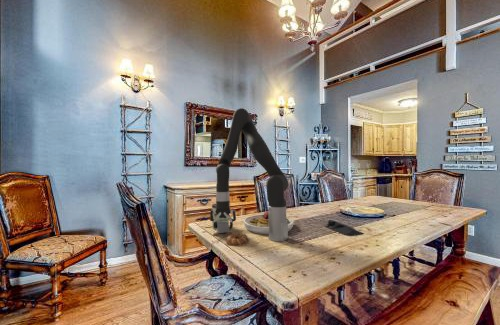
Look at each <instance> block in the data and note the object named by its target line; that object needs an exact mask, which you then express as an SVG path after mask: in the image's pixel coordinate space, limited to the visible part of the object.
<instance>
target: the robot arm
mask: <svg viewBox="0 0 500 325" xmlns="http://www.w3.org/2000/svg"><path fill="white" fill-rule="evenodd" d="M230 125H231V126H230V130H229V132H228V137H227V140H226V142H225V145H224V148H223V150H222V152H221V153H222V154H221V157H220V158H219V161H218V163H217V166H216V167H215V172H216V186H215V187H216V195H215V204H216V210H212V209H211V210H210V212H209V214H210V216H209V217H210V218H209V221H210V222H212V221H213V222H214V228H215V229H216V228H217V221H216V220H217V219H218V217H219V218H227V219H228V220H229V230H232V229H233V226H234V222H236V220H237V215H236V214H237V213H236V209H230V208H231V205H230V204H231V202H230V200H231V198H230V195H231V194H230V183H229V182H230V166H231V164H232V162H233V160H234V159H235V155H236V153H237V151H238V147H239V141H240V135H241V132H242V133H243V135H244V137H245V138H246V141H247V145H248V147H249V150H250V152H251V154H252V155H253V158H254V159H255V161H256V162H257V163H258V164H259V165H260V166H261V167H262V168H263V169H264V170H265V171H266V173H267V175H268V179H267V181H266V199H267V202H268V211H269V234H268V240H270V241H272V242H282V243H283V242H285V241H286V240H288V239H289V231H288V220H286V217H287V201H286V199H285V196H284V194H285V191H286V190H287V189H288V188H289V180H288V178H287V176H286V175H285V174H284V172H283V171H282V169H281V168H280V167H279V165H278V163H277V162H276V159H275V157H274V156H273V154H272V152H271V151H270V149H269V146H268V145H267V143H266V142H265V140H264V138H263V137H262V135H261V134H260V133H259V132H258V130H257V129H256V127H255V124H254V121H253V119H252V116H251V114H250V113H249V112H248V110H247V109H245V108H242V107H241V108H238V109H236V110H235V111H234V113H233V116H232V119H231V124H230ZM215 212H216V214H217V216H216V218H215V219H213V214H214V213H215ZM230 214H232V216H231V215H230ZM215 229H214V230H215Z"/></svg>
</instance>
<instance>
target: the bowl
mask: <svg viewBox="0 0 500 325" xmlns="http://www.w3.org/2000/svg"><path fill="white" fill-rule="evenodd" d="M286 220H288V232H290V231H291V230H292V228H293V226H294V220H293V219H292V218H290V217H288V216H286ZM243 225H244V227H245V228H246V229H247V231H250V232H251V233H256V234H259V235H269V210H266V211H264V213H263V214H256V215H251V216H247V217H246V218H244V220H243Z"/></svg>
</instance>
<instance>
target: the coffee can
mask: <svg viewBox="0 0 500 325" xmlns="http://www.w3.org/2000/svg"><path fill="white" fill-rule="evenodd" d="M211 210H216V203H213V204H211ZM216 216H217V214H216V212H215V213H214V214H213V219H215V218H216ZM225 220H227V221H228V223H229V224H230V221H229V220H228V219H227V218H219V217H218V219H217V220H216V221H225ZM211 222H212V224H211V226H212V229H213V230H215V231H217V228H216V229H215V228H214V222H213V221H211Z"/></svg>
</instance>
